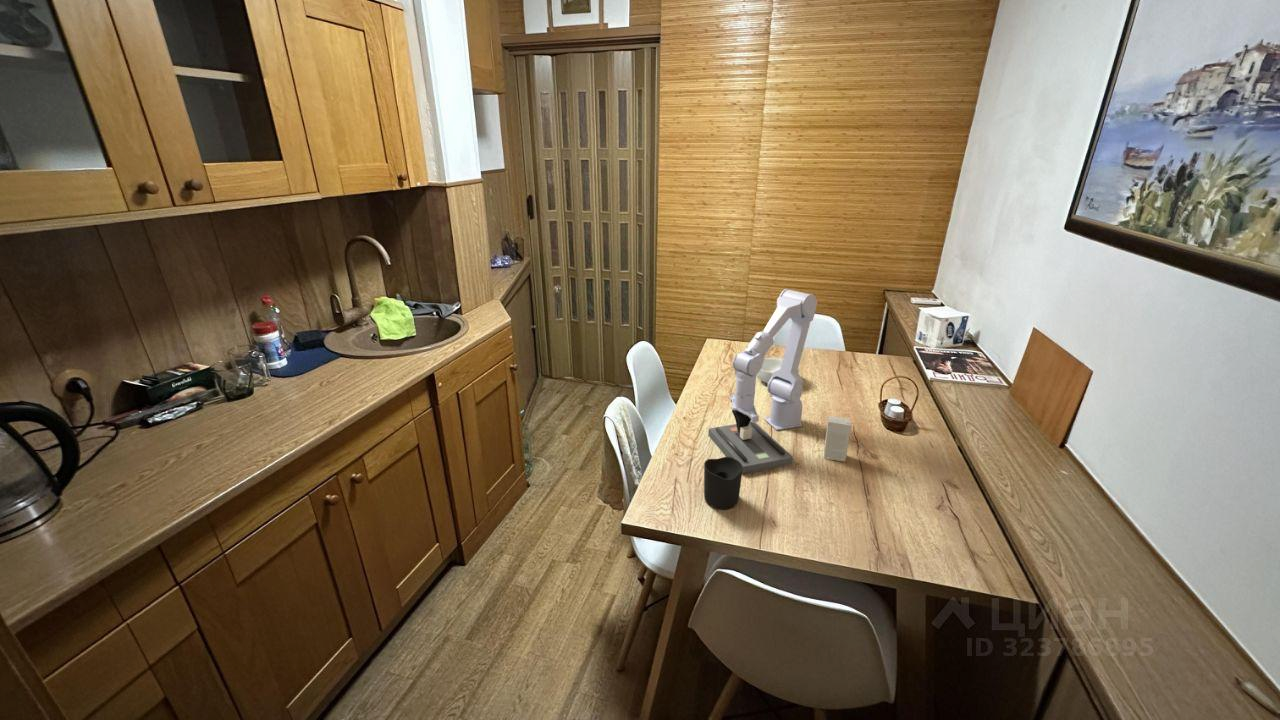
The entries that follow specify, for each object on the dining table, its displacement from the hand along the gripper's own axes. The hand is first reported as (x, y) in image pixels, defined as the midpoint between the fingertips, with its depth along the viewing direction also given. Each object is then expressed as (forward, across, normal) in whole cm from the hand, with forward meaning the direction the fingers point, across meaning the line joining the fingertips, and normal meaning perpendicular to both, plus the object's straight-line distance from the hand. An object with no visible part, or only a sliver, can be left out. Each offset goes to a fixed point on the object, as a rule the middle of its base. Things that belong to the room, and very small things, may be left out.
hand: (741, 432), depth 150 cm
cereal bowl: (+4, -37, +34) cm, 50 cm away
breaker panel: (+3, +4, 0) cm, 6 cm away
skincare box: (+4, +15, +22) cm, 27 cm away
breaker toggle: (0, +2, 0) cm, 2 cm away
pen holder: (+4, +24, -18) cm, 30 cm away
